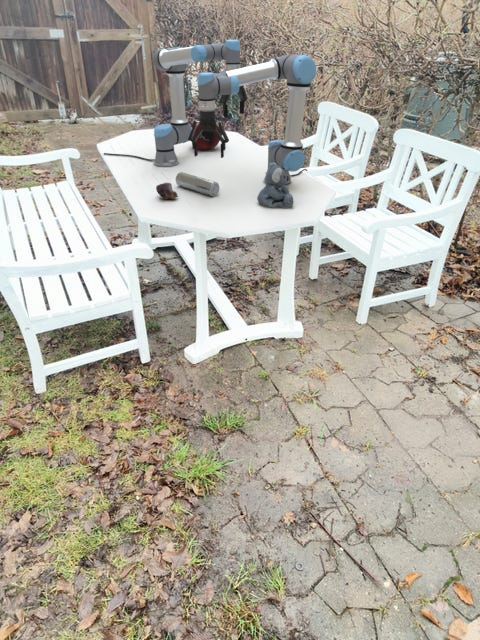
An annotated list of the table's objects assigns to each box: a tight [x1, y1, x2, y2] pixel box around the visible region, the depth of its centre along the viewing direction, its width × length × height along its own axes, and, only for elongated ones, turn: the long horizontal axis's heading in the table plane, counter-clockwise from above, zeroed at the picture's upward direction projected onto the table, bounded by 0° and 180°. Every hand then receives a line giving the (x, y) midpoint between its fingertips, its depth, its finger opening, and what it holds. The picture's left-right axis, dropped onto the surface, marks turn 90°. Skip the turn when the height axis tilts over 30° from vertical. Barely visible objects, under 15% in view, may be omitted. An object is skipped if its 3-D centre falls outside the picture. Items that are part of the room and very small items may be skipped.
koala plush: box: [256, 163, 294, 209], centre depth 226 cm, size 17×18×20 cm
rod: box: [175, 171, 220, 198], centre depth 247 cm, size 27×8×8 cm, turn 47°
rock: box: [155, 182, 178, 200], centre depth 237 cm, size 12×9×10 cm
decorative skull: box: [187, 118, 223, 151], centre depth 321 cm, size 21×24×25 cm
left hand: (233, 115), depth 256 cm, fingers open, 13 cm apart
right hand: (209, 156), depth 224 cm, fingers open, 13 cm apart
